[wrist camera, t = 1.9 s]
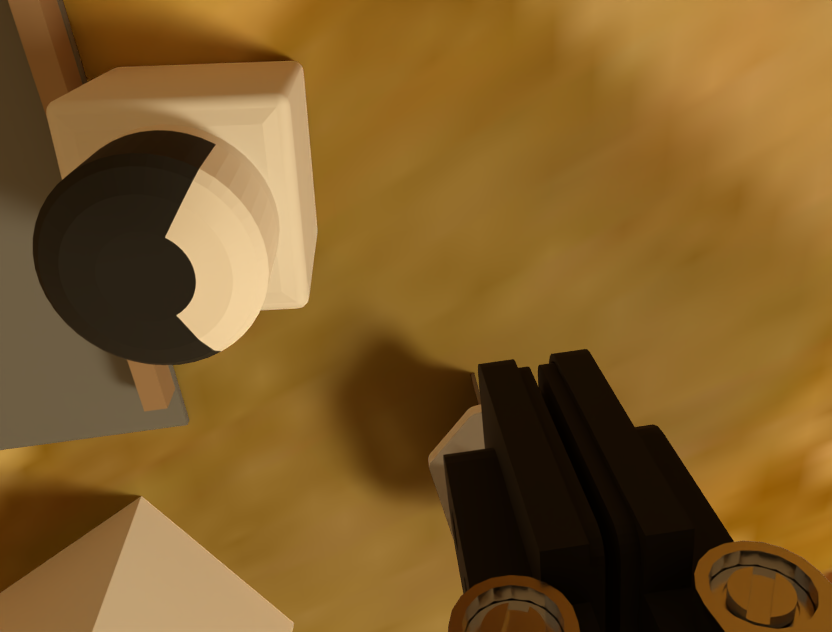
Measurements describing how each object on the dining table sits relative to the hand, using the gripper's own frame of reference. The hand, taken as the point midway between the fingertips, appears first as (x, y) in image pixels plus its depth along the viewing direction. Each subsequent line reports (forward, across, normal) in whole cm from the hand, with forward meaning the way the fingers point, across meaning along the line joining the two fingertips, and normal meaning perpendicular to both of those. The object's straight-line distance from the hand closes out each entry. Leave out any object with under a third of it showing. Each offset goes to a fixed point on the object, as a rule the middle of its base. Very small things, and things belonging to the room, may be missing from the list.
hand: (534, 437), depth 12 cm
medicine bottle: (+21, +8, 0) cm, 22 cm away
